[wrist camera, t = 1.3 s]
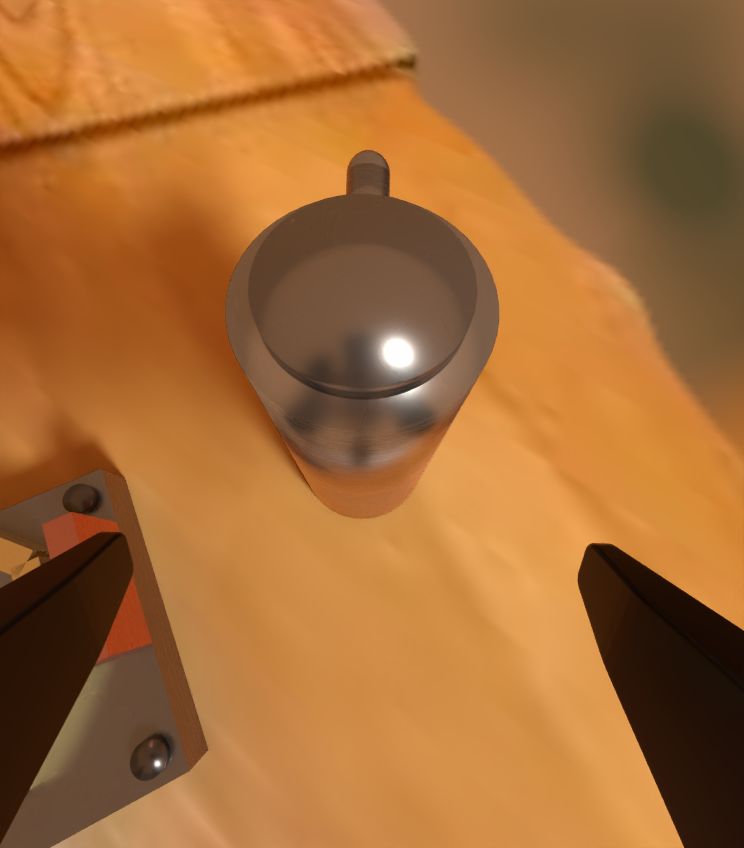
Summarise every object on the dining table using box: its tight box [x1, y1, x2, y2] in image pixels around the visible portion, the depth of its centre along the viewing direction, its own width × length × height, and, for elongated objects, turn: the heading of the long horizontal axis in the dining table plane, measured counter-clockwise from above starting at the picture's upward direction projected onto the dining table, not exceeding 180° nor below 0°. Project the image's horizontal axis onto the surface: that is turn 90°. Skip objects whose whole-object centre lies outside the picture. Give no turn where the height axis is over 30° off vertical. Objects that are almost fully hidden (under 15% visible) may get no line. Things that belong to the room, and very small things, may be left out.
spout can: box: [225, 150, 499, 519], centre depth 15 cm, size 8×6×14 cm, turn 178°
